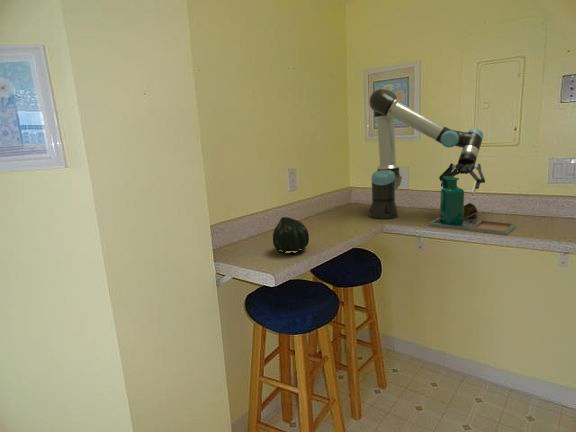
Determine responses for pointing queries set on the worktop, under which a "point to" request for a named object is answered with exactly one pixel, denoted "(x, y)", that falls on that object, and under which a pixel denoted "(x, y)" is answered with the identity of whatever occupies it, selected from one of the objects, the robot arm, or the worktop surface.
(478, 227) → the rail
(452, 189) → the green bottle
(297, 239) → the squash
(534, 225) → the worktop surface
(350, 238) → the worktop surface
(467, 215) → the brown mottled shell
